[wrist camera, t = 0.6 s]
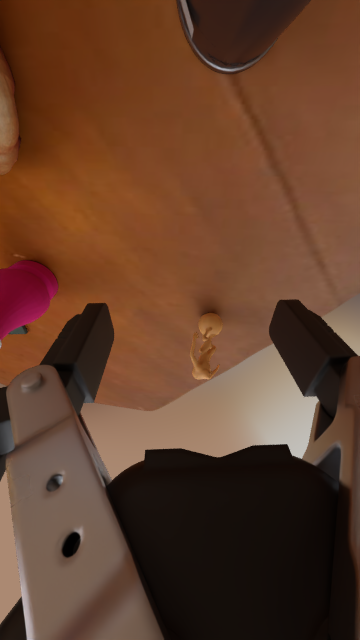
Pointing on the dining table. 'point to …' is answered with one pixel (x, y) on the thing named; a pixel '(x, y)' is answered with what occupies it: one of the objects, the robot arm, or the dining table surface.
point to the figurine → (205, 345)
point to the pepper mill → (24, 294)
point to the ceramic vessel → (8, 118)
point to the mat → (19, 330)
